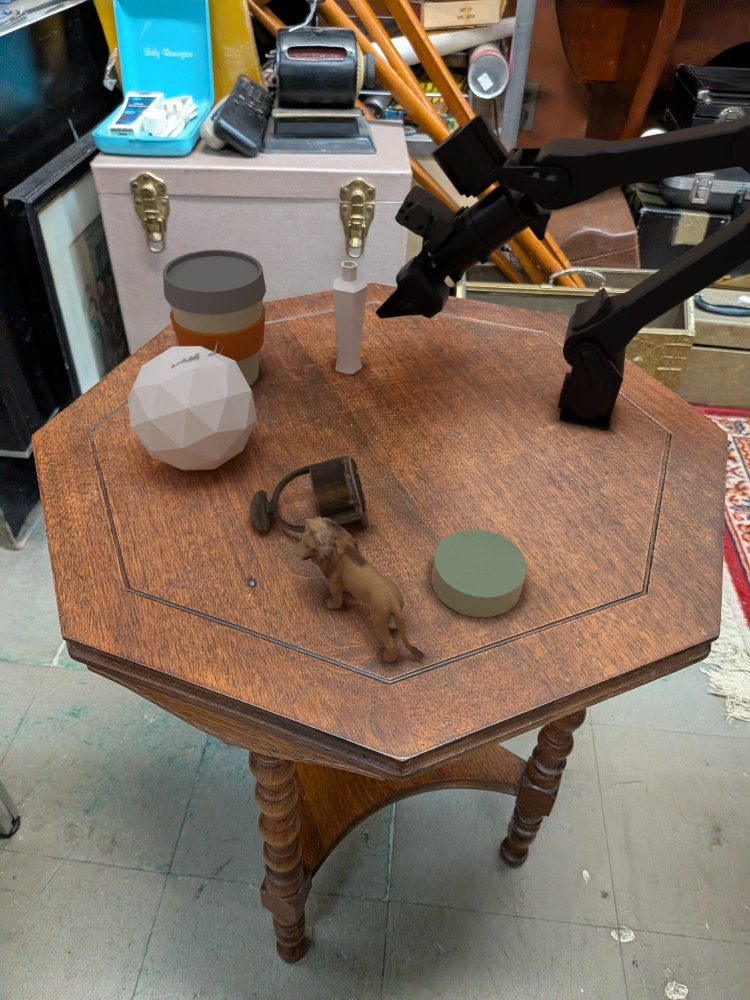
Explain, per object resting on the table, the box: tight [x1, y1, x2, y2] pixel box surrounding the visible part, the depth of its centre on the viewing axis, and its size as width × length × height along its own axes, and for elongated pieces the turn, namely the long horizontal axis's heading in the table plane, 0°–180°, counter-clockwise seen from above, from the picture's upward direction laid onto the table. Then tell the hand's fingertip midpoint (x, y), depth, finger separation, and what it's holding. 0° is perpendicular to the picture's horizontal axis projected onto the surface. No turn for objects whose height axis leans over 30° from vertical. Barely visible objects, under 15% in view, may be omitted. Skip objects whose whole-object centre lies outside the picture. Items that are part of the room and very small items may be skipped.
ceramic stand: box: [430, 529, 528, 618], centre depth 71 cm, size 9×9×3 cm
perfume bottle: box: [332, 260, 368, 375], centre depth 97 cm, size 5×4×15 cm
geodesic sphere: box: [127, 343, 258, 471], centre depth 81 cm, size 15×14×14 cm
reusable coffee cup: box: [162, 249, 267, 387], centre depth 94 cm, size 13×13×15 cm
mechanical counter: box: [249, 455, 369, 534], centre depth 76 cm, size 7×13×10 cm
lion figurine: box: [292, 516, 426, 663], centre depth 66 cm, size 15×5×9 cm, turn 50°
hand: (388, 299), depth 93 cm, fingers open, 9 cm apart
